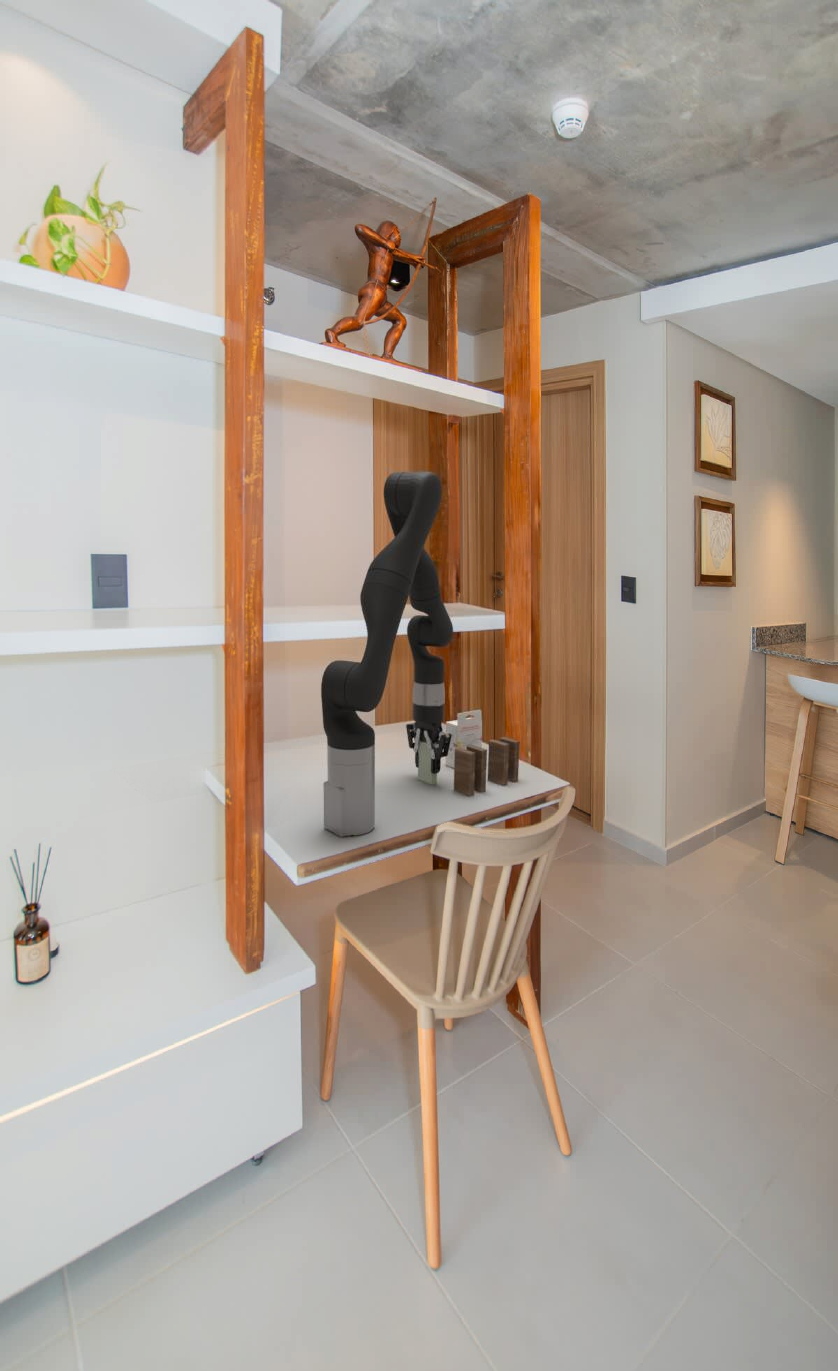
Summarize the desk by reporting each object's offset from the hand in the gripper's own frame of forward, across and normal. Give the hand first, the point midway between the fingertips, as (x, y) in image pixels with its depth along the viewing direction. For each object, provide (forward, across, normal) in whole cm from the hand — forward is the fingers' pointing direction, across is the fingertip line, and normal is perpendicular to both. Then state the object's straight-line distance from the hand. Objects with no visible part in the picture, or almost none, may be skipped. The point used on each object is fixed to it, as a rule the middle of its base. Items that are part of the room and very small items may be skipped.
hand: (427, 769), depth 158 cm
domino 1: (+3, +11, +1) cm, 11 cm away
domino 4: (+3, +11, +17) cm, 20 cm away
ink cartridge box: (+3, -4, +16) cm, 17 cm away
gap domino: (+3, 0, 0) cm, 3 cm away
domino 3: (+3, +11, +13) cm, 17 cm away
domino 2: (+3, +11, +5) cm, 13 cm away
